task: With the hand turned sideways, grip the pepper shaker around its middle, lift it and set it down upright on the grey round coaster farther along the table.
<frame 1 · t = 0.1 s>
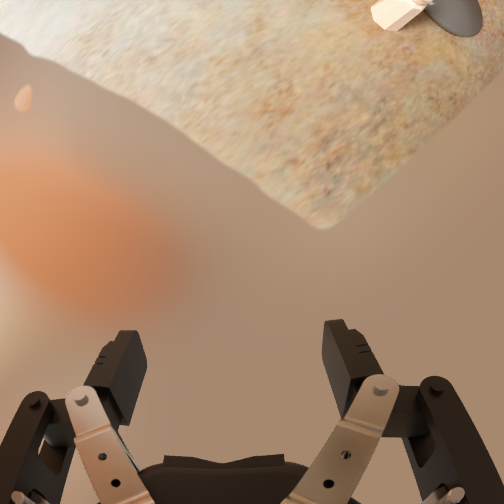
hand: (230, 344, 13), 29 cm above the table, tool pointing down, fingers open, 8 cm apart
grey round coaster: (447, 0, 28), on the table
pepper shaker: (386, 16, 30), on the table
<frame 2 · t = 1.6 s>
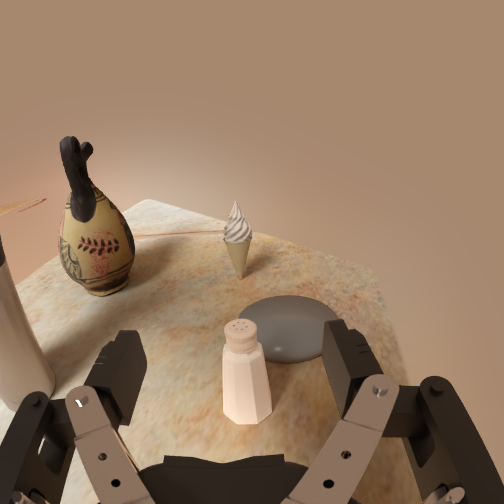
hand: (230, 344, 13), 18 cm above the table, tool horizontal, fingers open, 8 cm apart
ice cream cone: (240, 280, 58), on the table
grey round coaster: (287, 329, 42), on the table
ceramic jug: (105, 288, 56), on the table
pepper shaker: (248, 408, 30), on the table
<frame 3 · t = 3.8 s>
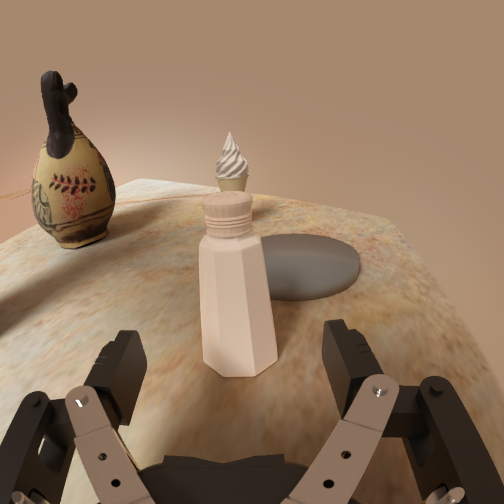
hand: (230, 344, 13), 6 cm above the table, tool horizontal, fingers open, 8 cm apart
ice cream cone: (235, 228, 49), on the table
grey round coaster: (294, 267, 33), on the table
ceramic jug: (80, 242, 47), on the table
pepper shaker: (241, 355, 21), on the table
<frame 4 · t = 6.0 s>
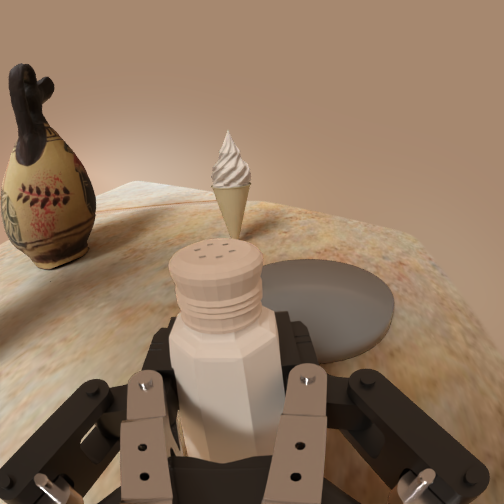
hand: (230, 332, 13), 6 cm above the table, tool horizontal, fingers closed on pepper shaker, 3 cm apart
ice cream cone: (235, 246, 41), on the table
grey round coaster: (310, 308, 26), on the table
ceramic jug: (58, 261, 40), on the table
pepper shaker: (242, 455, 13), on the table, touching gripper
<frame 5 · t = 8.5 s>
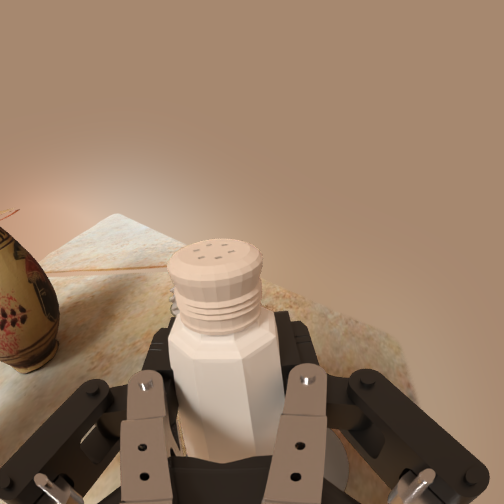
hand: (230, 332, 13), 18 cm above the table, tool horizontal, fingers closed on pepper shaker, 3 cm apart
grey round coaster: (266, 473, 22), on the table
ceramic jug: (30, 358, 35), on the table
pepper shaker: (242, 456, 13), point 12 cm above the table, touching gripper
when the fingers open (9 cm above the table, at t = 10.8 s): pepper shaker drops 1 cm, resting on grey round coaster.
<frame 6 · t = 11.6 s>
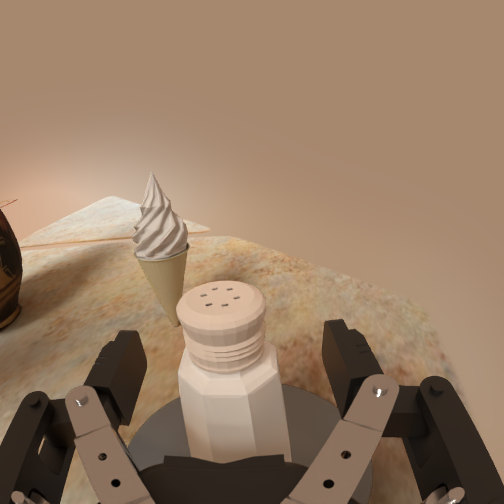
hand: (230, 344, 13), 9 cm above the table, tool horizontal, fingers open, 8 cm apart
ice cream cone: (176, 327, 29), on the table
grey round coaster: (245, 476, 14), on the table
pepper shaker: (245, 469, 14), point 1 cm above the table, touching grey round coaster
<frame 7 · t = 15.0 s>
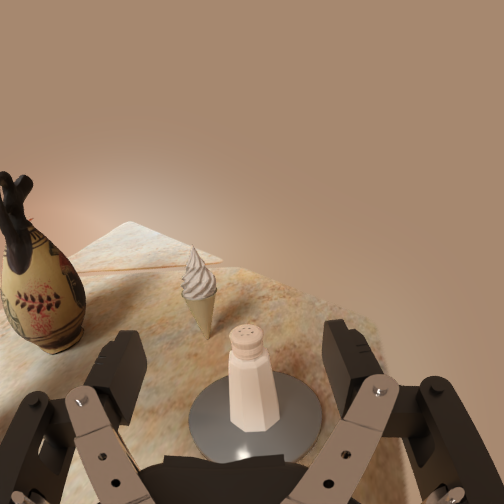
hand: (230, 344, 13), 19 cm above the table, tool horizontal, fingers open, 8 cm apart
ice cream cone: (207, 339, 45), on the table
grey round coaster: (255, 421, 30), on the table
ceramic jug: (58, 342, 44), on the table
pepper shaker: (255, 415, 29), point 1 cm above the table, touching grey round coaster
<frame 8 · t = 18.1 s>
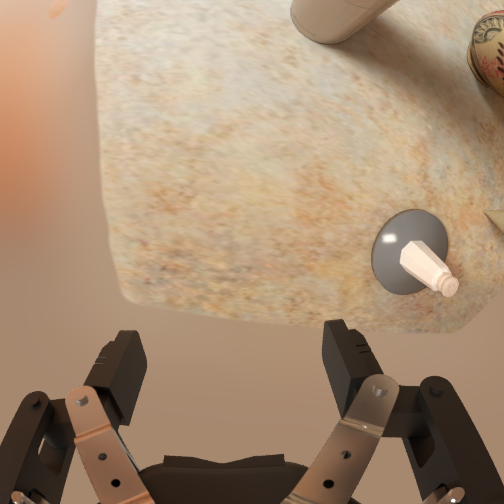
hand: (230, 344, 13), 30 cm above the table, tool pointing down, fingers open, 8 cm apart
ice cream cone: (483, 211, 42), on the table
grey round coaster: (409, 251, 44), on the table
ceramic jug: (480, 60, 32), on the table
pepper shaker: (412, 255, 43), point 1 cm above the table, touching grey round coaster
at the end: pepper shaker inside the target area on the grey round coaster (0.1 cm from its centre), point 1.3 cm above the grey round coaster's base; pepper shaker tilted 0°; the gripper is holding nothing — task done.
